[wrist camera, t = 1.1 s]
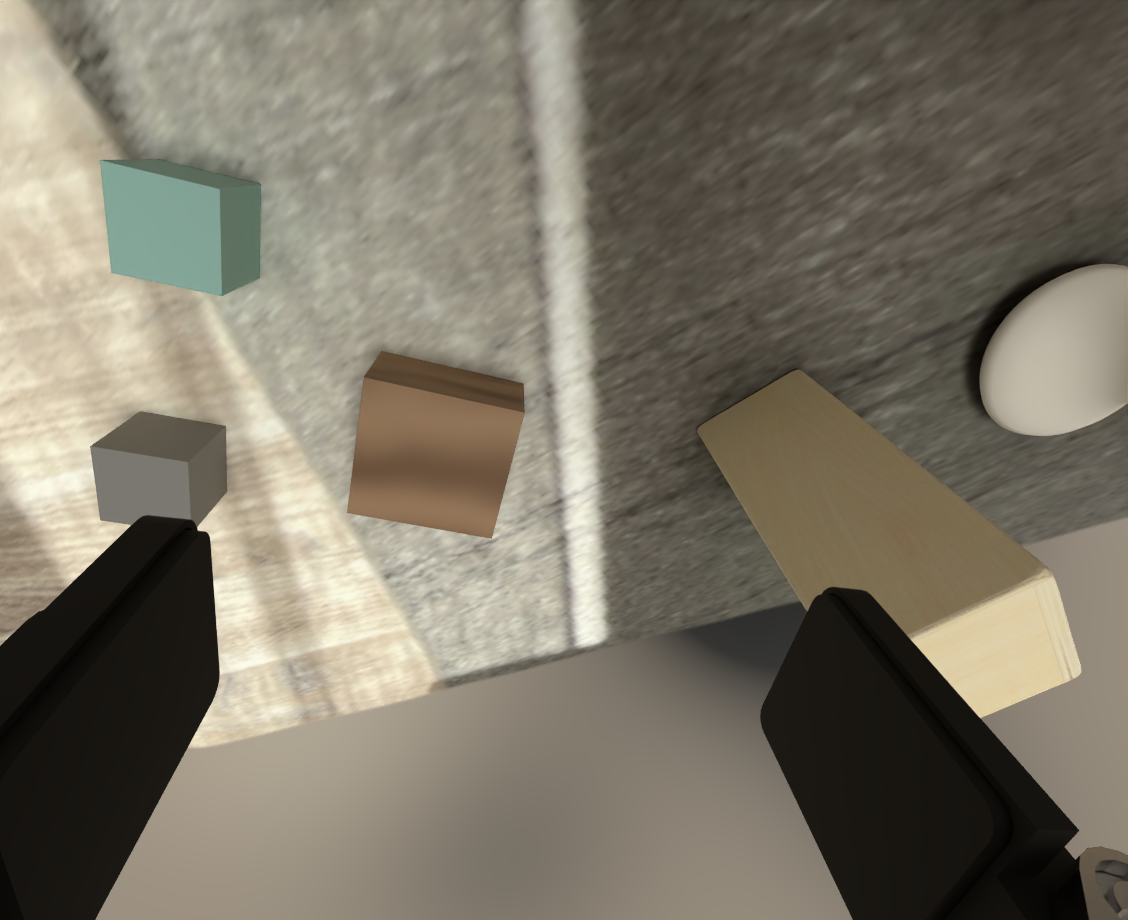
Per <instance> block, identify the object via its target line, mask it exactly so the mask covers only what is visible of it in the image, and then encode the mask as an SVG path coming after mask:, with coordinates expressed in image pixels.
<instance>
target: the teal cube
mask: <svg viewBox="0 0 1128 920" xmlns="http://www.w3.org/2000/svg"><path fill="white" fill-rule="evenodd" d="M100 165H101V175H102V185H103V195H104V205H105V215H106V224H107V234H108V244H109V254H110V264H111V273H115V274H119V275H124V276H129V277H134V278H138V279H143V280H148V281H153V282H157V283H162V284H167V285H171V286H176V287H181V288H186V289H190V290H195V291H200V292H205V293H209V294H214V295H219V296H223V295H225V294H227V293H229V292H231V291H233V290H236V289H238V288H240V287H242V286H244V285H246V284H248V283H250V282H252V281H254V280H256V279H258V278H260V207H261V184H258V183H254V182H249V181H245V180H241V179H237V178H233V177H229V176H225V175H221V174H217V173H213V172H209V171H205V170H201V169H197V168H193V167H188V166H184V165H180V164H176V163H172V162H168V161H164V160H160V159H148V160H100Z"/></svg>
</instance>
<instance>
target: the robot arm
mask: <svg viewBox="0 0 1128 920" xmlns="http://www.w3.org/2000/svg"><path fill="white" fill-rule="evenodd" d="M219 674H220V671H219V657H218V643H217V629H216V615H215V600H214V586H213V572H212V558H211V544H210V537H209V535H208V533H207V532H204V531H198V530H197V526H196V524H195V522H194V521H192V520H191V519H181V518H171V517H162V516H152V515H145V516H142V517H140V518H139V519H138V520H136V521H135V522H134V523H133V524H132V525H131V526H130V527H129V528H128V529H127V530H126V531H125V532H124V533H123V534H122V535H121V536H120V537H119V538H118V539H117V540H116V541H115V542H114V543H113V544H112V545H111V546H110V547H109V548H107V549H106V550H105V551H104V552H103V553H102V554H101V555H100V556H99V557H98V558H97V559H96V560H95V561H94V562H93V563H92V564H91V565H90V566H89V567H88V568H87V569H86V570H85V571H84V572H83V573H82V574H81V575H80V576H79V577H78V578H77V579H75V580H74V581H73V582H72V583H71V584H70V585H69V586H68V587H67V588H66V589H65V590H64V591H63V592H62V593H61V594H60V595H59V596H58V597H57V598H56V599H55V600H54V601H53V602H52V603H51V604H50V605H49V606H48V607H47V608H46V609H45V610H42V611H39V612H38V613H36V614H35V615H34V616H32V617H31V618H30V619H28V620H27V621H26V622H25V623H24V624H23V625H22V626H21V627H20V628H18V629H17V630H16V631H15V632H14V633H13V634H12V635H11V636H10V637H9V638H8V639H7V640H6V641H5V642H4V643H3V644H2V645H1V646H0V920H95V919H96V917H97V915H98V913H99V911H100V910H101V908H102V906H103V904H104V902H105V900H106V898H107V897H108V895H109V893H110V891H111V889H112V887H113V885H114V884H115V882H116V880H117V878H118V876H119V874H120V872H121V871H122V869H123V867H124V865H125V863H126V861H127V859H128V857H129V856H130V854H131V852H132V850H133V848H134V846H135V844H136V842H137V841H138V839H139V837H140V835H141V833H142V831H143V830H144V828H145V826H146V824H147V822H148V820H149V818H150V817H151V815H152V813H153V811H154V809H155V807H156V805H157V804H158V802H159V800H160V798H161V796H162V794H163V792H164V790H165V788H166V787H167V785H168V783H169V781H170V779H171V777H172V776H173V774H174V772H175V770H176V768H177V766H178V764H179V763H180V761H181V758H182V757H183V755H184V753H185V751H186V750H187V748H188V746H189V744H190V742H191V740H192V738H193V737H194V735H195V733H196V731H197V729H198V727H199V725H200V723H201V722H202V720H203V718H204V716H205V714H206V712H207V710H208V709H209V707H210V705H211V703H212V701H213V699H214V697H215V694H216V691H217V687H218V683H219ZM760 717H761V724H762V729H763V731H764V734H765V736H766V738H767V740H768V742H769V744H770V746H771V748H772V750H773V752H774V755H775V757H776V759H777V761H778V763H779V765H780V767H781V769H782V771H783V773H784V776H785V778H786V780H787V782H788V784H789V786H790V788H791V790H792V792H793V795H794V797H795V799H796V801H797V803H798V805H799V807H800V809H801V811H802V814H803V816H804V818H805V820H806V822H807V824H808V826H809V828H810V830H811V832H812V835H813V836H814V839H815V841H816V843H817V845H818V847H819V849H820V851H821V853H822V856H823V858H824V860H825V862H826V864H827V866H828V868H829V870H830V873H831V875H832V877H833V879H834V881H835V883H836V885H837V887H838V889H839V891H840V894H841V895H842V898H843V900H844V902H845V904H846V906H847V908H848V910H849V912H850V915H851V917H852V919H853V920H1128V855H1126V854H1124V853H1122V852H1120V851H1117V850H1113V849H1108V848H1104V847H1093V848H1087V849H1086V850H1085V851H1084V852H1083V853H1082V854H1081V855H1080V856H1079V857H1078V858H1077V859H1076V860H1075V859H1074V858H1073V857H1072V856H1071V854H1070V853H1069V852H1068V851H1067V850H1066V848H1065V845H1066V844H1067V843H1068V842H1069V841H1070V840H1071V839H1072V838H1073V837H1074V836H1075V835H1076V834H1077V832H1078V831H1079V830H1078V829H1077V827H1076V826H1075V825H1074V824H1073V823H1072V822H1071V821H1070V820H1069V818H1068V817H1067V816H1066V815H1065V814H1064V813H1063V811H1062V810H1061V809H1060V808H1059V807H1058V806H1057V805H1056V804H1055V802H1054V801H1053V800H1052V799H1051V798H1050V797H1049V796H1048V794H1047V793H1046V792H1045V791H1044V790H1043V789H1042V788H1041V787H1040V785H1039V784H1038V783H1037V782H1036V781H1035V780H1034V779H1033V778H1032V776H1031V775H1030V774H1029V773H1028V772H1027V771H1026V770H1025V769H1024V767H1023V766H1022V765H1021V764H1020V763H1019V762H1018V761H1017V759H1016V758H1015V757H1014V756H1013V755H1012V754H1011V753H1010V752H1009V750H1008V749H1007V748H1006V747H1005V746H1004V745H1003V743H1001V741H1000V740H999V739H998V738H997V737H996V736H995V734H994V733H993V732H992V731H991V730H990V729H989V728H988V726H987V725H986V724H985V723H984V722H983V721H982V720H981V719H980V717H979V716H978V715H977V714H976V713H975V712H974V711H973V709H972V708H971V707H970V706H969V705H968V704H967V703H966V702H965V700H964V699H963V698H962V697H961V696H960V695H959V694H958V692H957V691H956V690H955V689H954V688H953V687H952V686H951V685H950V683H949V682H948V681H947V680H946V679H945V678H944V677H943V676H942V674H941V673H940V672H939V671H938V670H937V669H936V668H935V666H934V665H933V664H932V663H931V662H930V661H929V660H928V659H927V657H926V656H925V655H924V654H923V653H922V652H921V651H920V649H919V648H918V647H917V646H916V645H915V644H914V643H913V642H912V640H911V639H910V638H909V637H908V636H907V635H906V634H905V632H904V631H903V630H902V629H901V628H900V627H899V626H898V625H897V623H896V622H895V621H894V620H893V619H892V618H891V617H890V615H889V614H888V613H887V612H886V611H885V610H884V609H883V608H882V606H881V605H880V604H879V603H878V602H877V601H876V600H875V598H874V597H873V596H872V595H871V594H869V593H868V592H867V591H864V590H860V589H851V588H841V587H829V588H827V589H826V590H824V591H823V593H822V594H821V595H817V596H816V597H815V598H814V600H813V601H812V603H811V605H810V607H809V609H808V611H807V614H806V616H805V618H804V620H803V622H802V624H801V626H800V628H799V630H798V632H797V634H796V636H795V639H794V641H793V643H792V645H791V647H790V649H789V651H788V653H787V655H786V658H785V660H784V662H783V664H782V666H781V668H780V670H779V672H778V674H777V676H776V678H775V681H774V682H773V685H772V687H771V689H770V691H769V693H768V695H767V697H766V699H765V701H764V703H763V705H762V709H761V715H760Z"/></svg>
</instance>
